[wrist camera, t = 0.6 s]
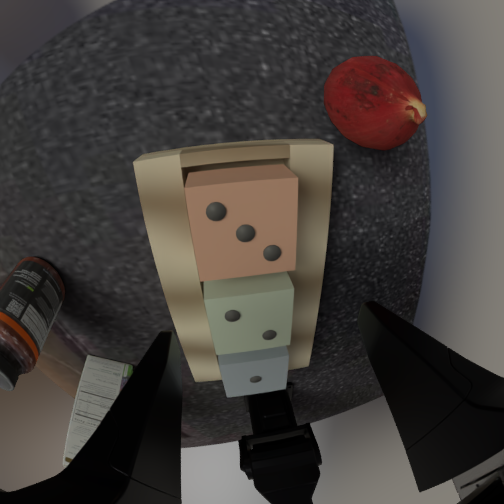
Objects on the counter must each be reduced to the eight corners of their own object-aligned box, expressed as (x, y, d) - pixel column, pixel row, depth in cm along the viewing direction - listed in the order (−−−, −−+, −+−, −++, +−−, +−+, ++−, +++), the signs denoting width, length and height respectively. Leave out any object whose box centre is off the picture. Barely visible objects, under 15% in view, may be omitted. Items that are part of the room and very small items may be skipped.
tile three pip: (283, 245, 19) (295, 271, 16) (200, 254, 18) (200, 282, 15) (283, 164, 16) (298, 178, 13) (188, 172, 15) (184, 188, 12)
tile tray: (302, 349, 29) (308, 366, 27) (195, 364, 28) (195, 381, 26) (319, 138, 17) (333, 144, 15) (142, 154, 16) (133, 162, 14)
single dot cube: (279, 364, 26) (286, 389, 23) (224, 372, 25) (227, 398, 23) (281, 328, 23) (289, 356, 20) (216, 337, 22) (218, 366, 20)
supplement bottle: (28, 300, 20) (-15, 385, 11) (13, 251, 18) (-50, 336, 8) (73, 308, 22) (36, 407, 12) (60, 256, 19) (-1, 358, 9)
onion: (292, 114, 16) (349, 127, 9) (326, 47, 14) (396, 25, 7) (359, 151, 18) (431, 186, 11) (389, 89, 16) (468, 99, 9)
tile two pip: (281, 317, 22) (290, 345, 20) (214, 326, 22) (216, 356, 19) (282, 262, 19) (294, 289, 17) (203, 271, 19) (203, 300, 16)
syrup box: (133, 387, 29) (126, 490, 17) (91, 377, 28) (74, 477, 15) (133, 363, 27) (121, 483, 14) (85, 352, 25) (60, 466, 13)
